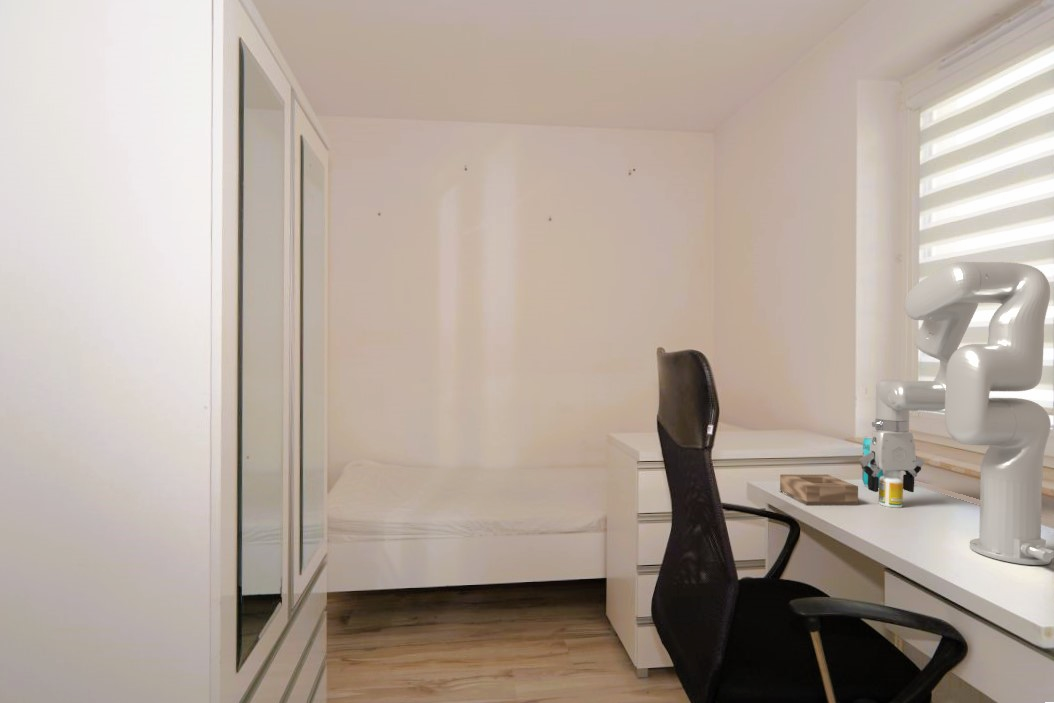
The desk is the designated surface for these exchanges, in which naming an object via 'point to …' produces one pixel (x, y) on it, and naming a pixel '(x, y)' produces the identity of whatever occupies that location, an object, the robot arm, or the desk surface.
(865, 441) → the beverage can
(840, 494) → the socket block
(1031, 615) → the desk surface
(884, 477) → the supplement bottle
